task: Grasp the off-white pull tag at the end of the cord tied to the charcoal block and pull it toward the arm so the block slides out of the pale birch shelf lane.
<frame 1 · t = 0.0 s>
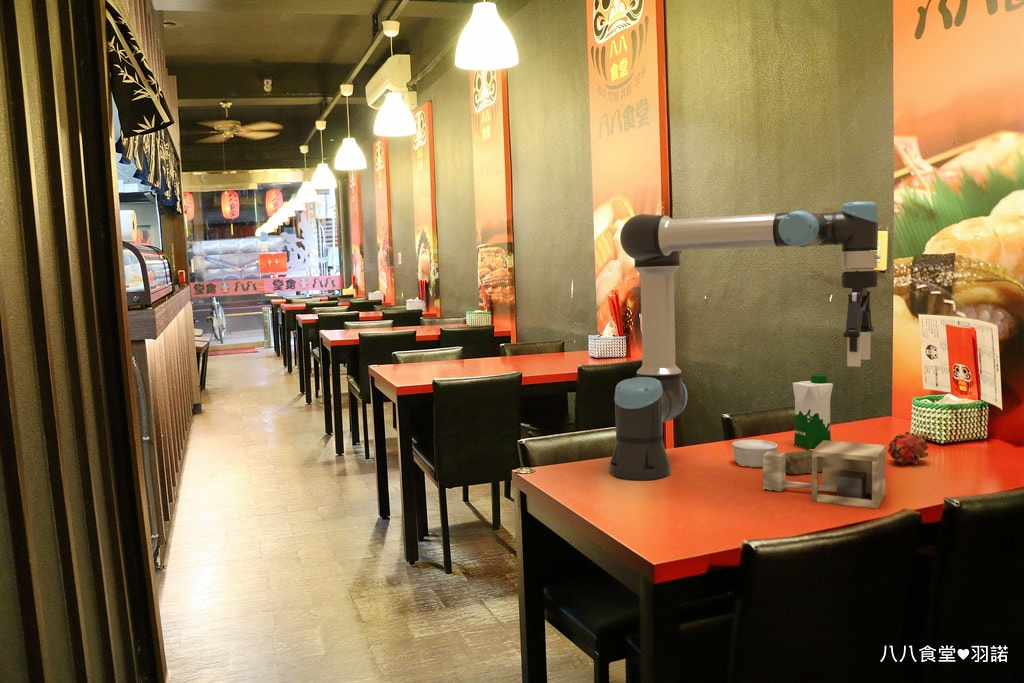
hand: (859, 362, 187), 28 cm above the table, tool pointing down, fingers open, 13 cm apart
shelf lane: (846, 497, 178), on the table
ramekin: (754, 464, 210), on the table
stone block: (804, 472, 201), on the table
tethered block: (813, 475, 181), point 4 cm above the table, slide at 0.0 cm
milk carton: (812, 447, 227), on the table
dragon fruit: (907, 464, 205), on the table
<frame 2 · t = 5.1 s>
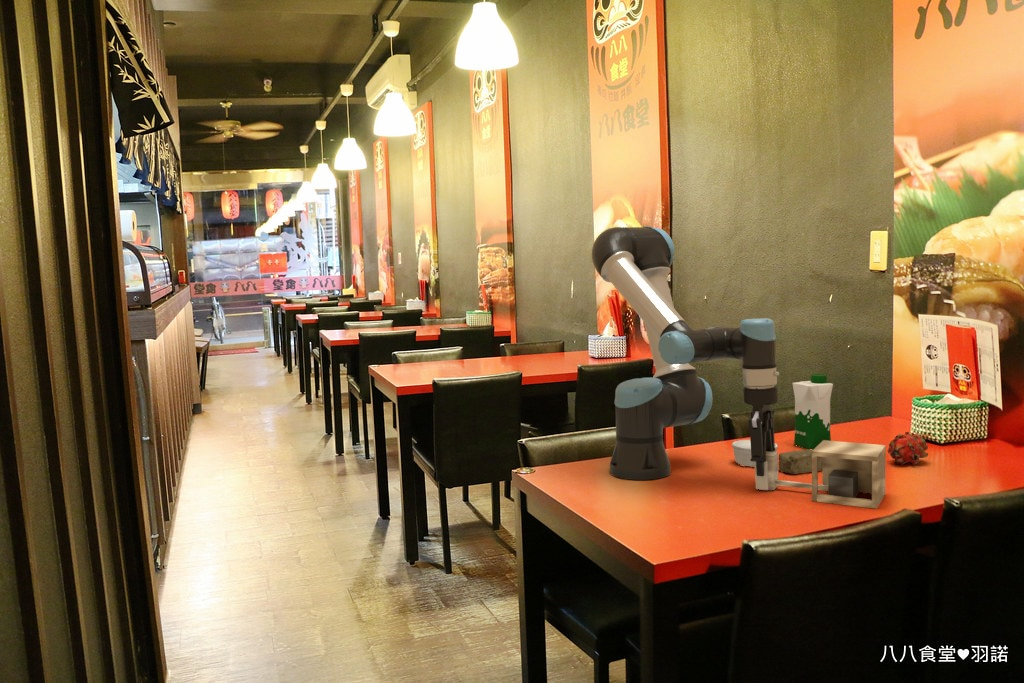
hand: (764, 486, 187), 0 cm above the table, tool pointing down, fingers closed on tethered block, 4 cm apart
tethered block: (805, 474, 182), point 4 cm above the table, slide at 1.7 cm, touching gripper
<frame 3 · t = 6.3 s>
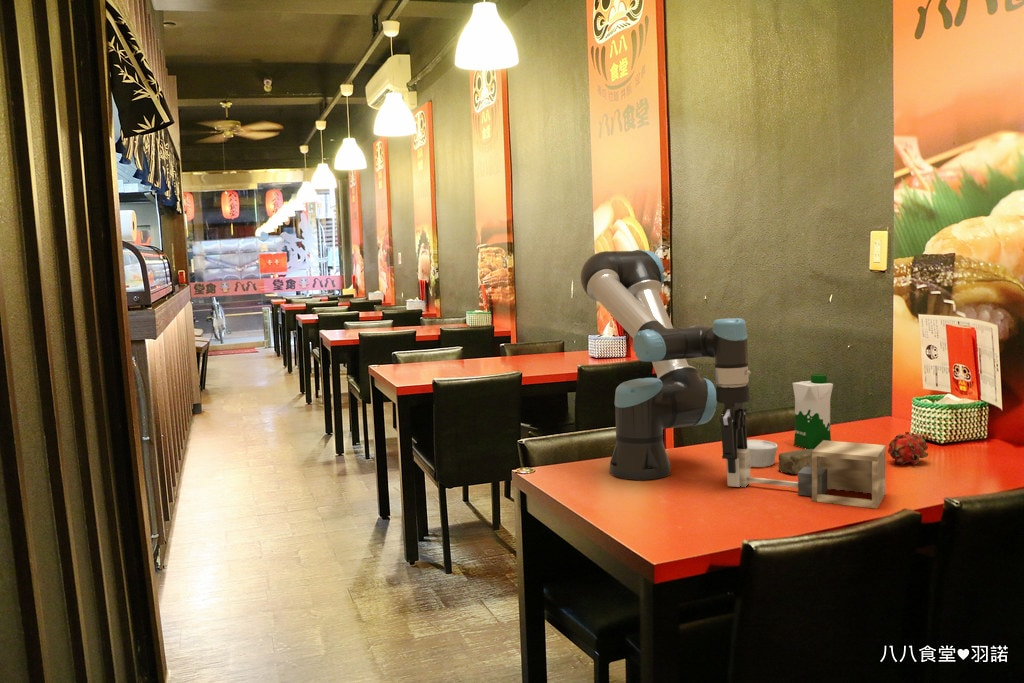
hand: (736, 483, 191), 0 cm above the table, tool pointing down, fingers closed on tethered block, 4 cm apart
tethered block: (776, 471, 186), point 4 cm above the table, slide at 8.1 cm, touching gripper
everything else where it was.
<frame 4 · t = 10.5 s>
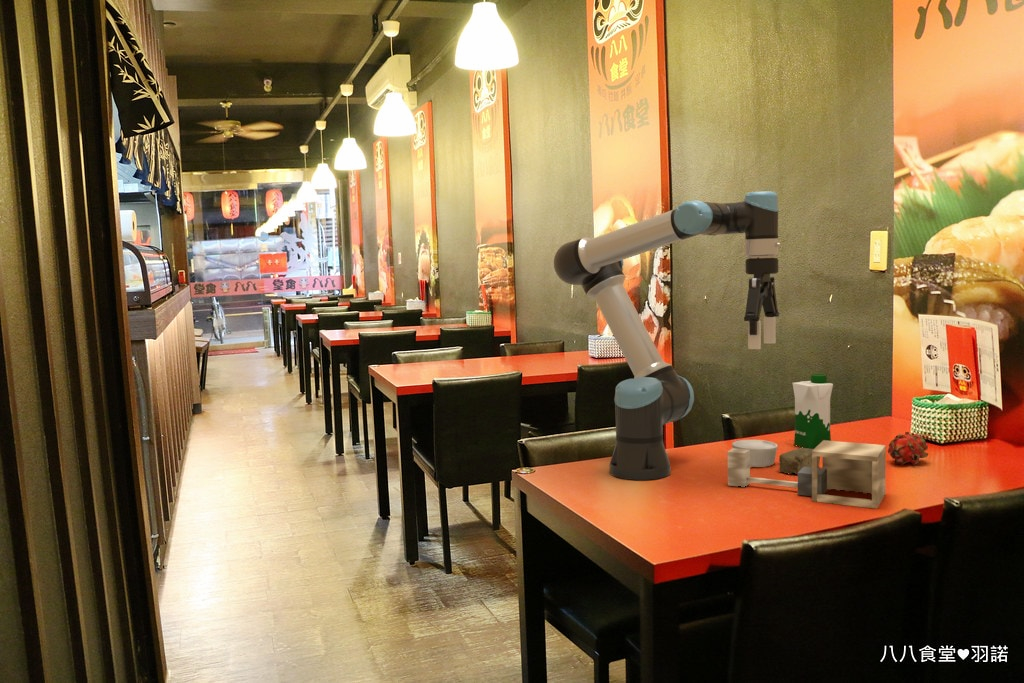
hand: (762, 346, 195), 32 cm above the table, tool pointing down, fingers open, 13 cm apart
tethered block: (775, 471, 186), point 4 cm above the table, slide at 8.2 cm
at the end: tethered block slide at 8.2 cm; tethered block inside the target area (2.0 cm from its centre), on the table; the gripper is holding nothing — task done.
